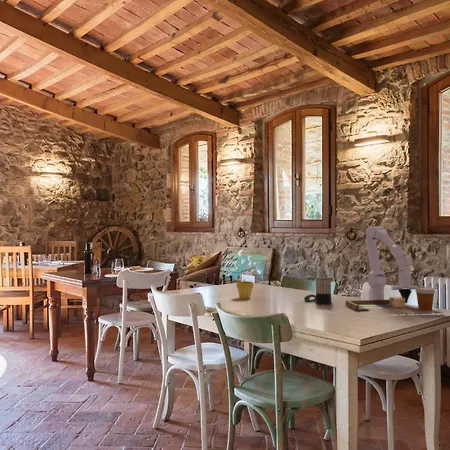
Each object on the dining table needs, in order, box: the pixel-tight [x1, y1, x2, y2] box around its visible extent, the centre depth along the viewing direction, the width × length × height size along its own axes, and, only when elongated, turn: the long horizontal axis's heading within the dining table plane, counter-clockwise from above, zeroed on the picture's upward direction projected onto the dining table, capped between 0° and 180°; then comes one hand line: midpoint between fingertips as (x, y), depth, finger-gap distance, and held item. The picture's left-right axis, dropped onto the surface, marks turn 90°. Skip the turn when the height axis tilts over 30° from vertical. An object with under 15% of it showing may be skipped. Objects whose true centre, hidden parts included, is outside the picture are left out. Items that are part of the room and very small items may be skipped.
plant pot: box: [236, 280, 254, 300], centre depth 281 cm, size 10×10×10 cm
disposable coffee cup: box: [414, 286, 436, 312], centre depth 233 cm, size 10×10×12 cm
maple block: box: [388, 296, 406, 307], centre depth 244 cm, size 6×6×4 cm
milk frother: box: [304, 276, 332, 306], centre depth 262 cm, size 14×16×15 cm
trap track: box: [345, 299, 415, 312], centre depth 244 cm, size 16×32×3 cm, turn 95°
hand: (405, 303), depth 245 cm, fingers closed
